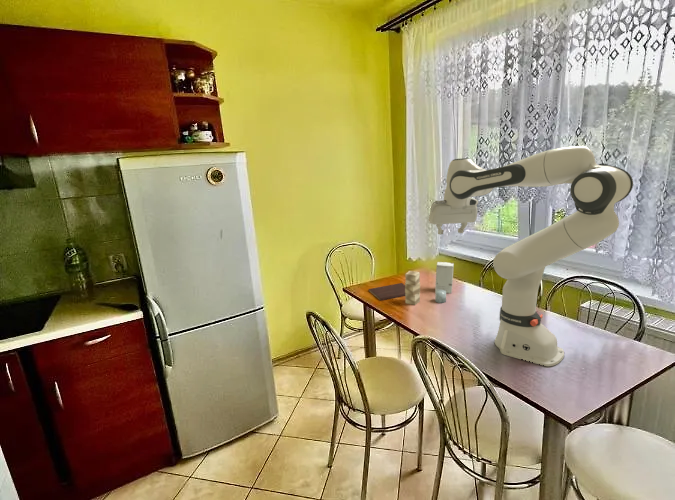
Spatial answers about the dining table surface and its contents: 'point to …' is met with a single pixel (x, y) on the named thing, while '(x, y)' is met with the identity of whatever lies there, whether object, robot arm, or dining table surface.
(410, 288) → the tower mid
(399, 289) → the notebook
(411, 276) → the tower top
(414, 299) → the tower base
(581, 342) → the dining table surface
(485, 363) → the dining table surface
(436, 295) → the blue-grey rounded cube
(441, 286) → the skincare box
